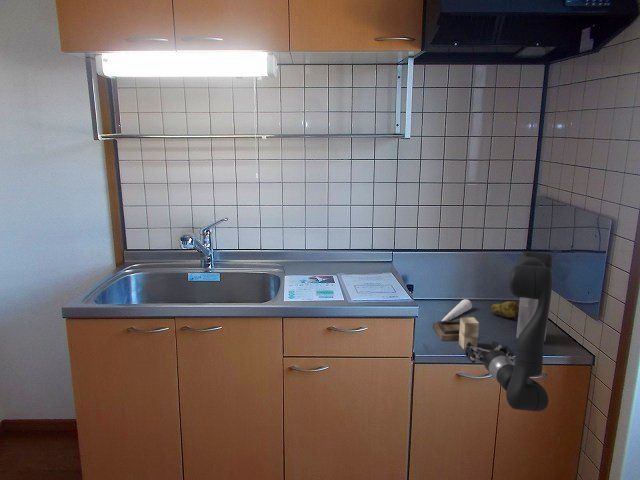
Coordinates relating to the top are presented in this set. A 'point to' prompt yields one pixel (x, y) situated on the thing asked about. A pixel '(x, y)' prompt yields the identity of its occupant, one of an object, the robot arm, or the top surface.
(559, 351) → the top surface
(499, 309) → the potato
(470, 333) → the maple pillar
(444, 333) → the walnut base
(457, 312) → the unicorn horn
